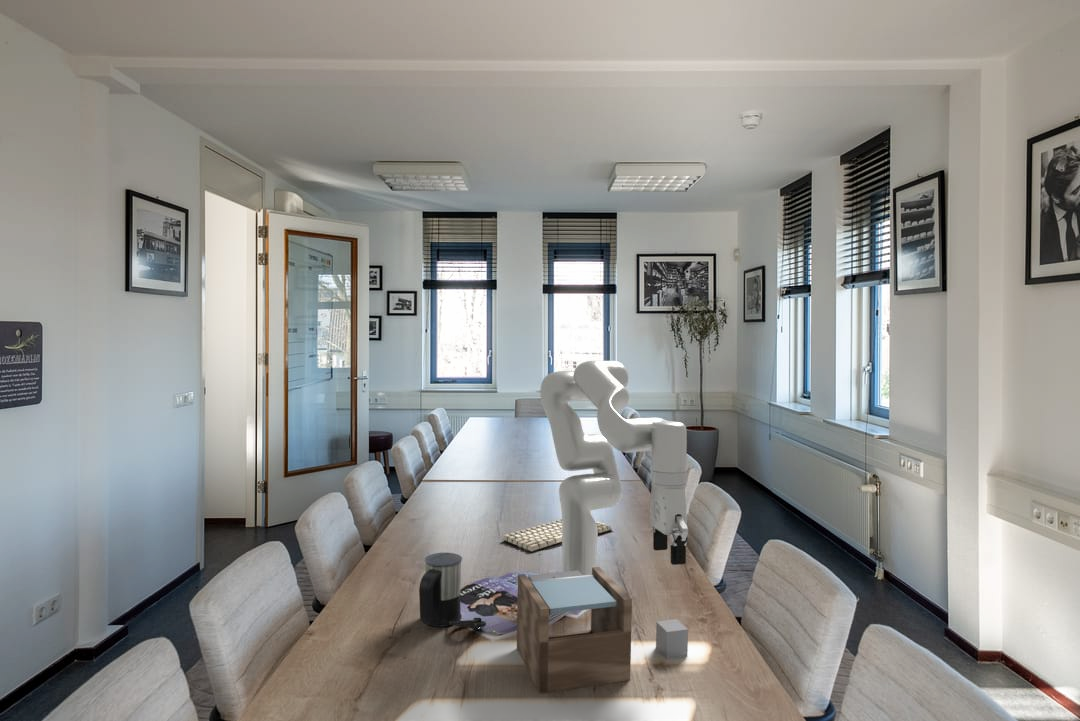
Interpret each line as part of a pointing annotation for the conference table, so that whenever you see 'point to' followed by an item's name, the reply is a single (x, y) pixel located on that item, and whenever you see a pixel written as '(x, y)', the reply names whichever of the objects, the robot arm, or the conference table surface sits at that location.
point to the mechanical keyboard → (544, 536)
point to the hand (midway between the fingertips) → (668, 556)
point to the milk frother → (443, 592)
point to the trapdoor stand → (574, 641)
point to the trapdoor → (571, 591)
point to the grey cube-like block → (671, 639)
